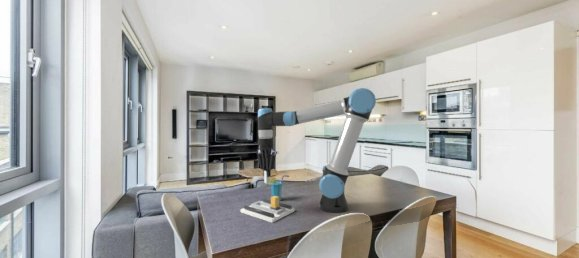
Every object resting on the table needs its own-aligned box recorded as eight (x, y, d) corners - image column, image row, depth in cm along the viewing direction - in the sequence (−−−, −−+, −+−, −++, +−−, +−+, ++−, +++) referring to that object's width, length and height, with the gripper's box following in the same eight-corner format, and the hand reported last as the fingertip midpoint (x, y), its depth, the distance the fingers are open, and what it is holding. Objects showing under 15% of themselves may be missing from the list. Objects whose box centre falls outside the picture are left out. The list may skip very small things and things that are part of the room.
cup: (287, 197, 148) (287, 173, 147) (290, 200, 140) (290, 176, 140) (265, 198, 144) (265, 174, 144) (267, 203, 137) (267, 177, 136)
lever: (279, 210, 120) (279, 197, 120) (276, 212, 118) (276, 198, 117) (273, 208, 122) (273, 195, 122) (270, 210, 120) (270, 197, 120)
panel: (294, 211, 124) (294, 205, 124) (272, 222, 109) (272, 215, 109) (264, 202, 137) (264, 197, 137) (240, 212, 123) (240, 205, 122)
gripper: (279, 137, 122) (281, 182, 122) (261, 137, 130) (263, 179, 130) (270, 138, 116) (271, 186, 116) (251, 138, 124) (253, 182, 124)
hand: (267, 182), depth 123 cm, fingers closed
